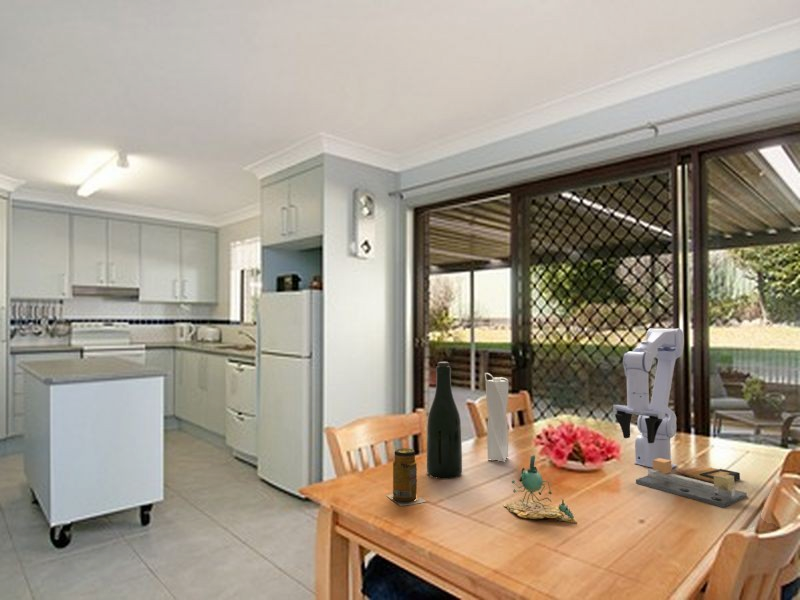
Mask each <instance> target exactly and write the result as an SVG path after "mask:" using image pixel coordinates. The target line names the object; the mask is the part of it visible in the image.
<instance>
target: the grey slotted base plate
mask: <svg viewBox="0 0 800 600" xmlns="http://www.w3.org/2000/svg"><path fill="white" fill-rule="evenodd" d="M652 471H653V468H649V469H647V475H645V476H642V477H639V478H637V479H635V484H638V485H641V486H645V487H648V488H650V489H651V488H652V489H655V490H659V491H662V492H665V493H666V492H667V493H670V494H674V495H676V496H677V495H678V496H681V497H684V498H687V499H692V500H695V501H698V502H702V503H706V504H708V505H713V506H716V507H720V508H727V507H729V506H730V505H732V504H735V503H737V502H739V501H741V500H742V499H743V500H744V499H745V498H747V497H748V492H745V491H741V490H738V489H735V481H734V476H732V475H727V474H723V473H719V474H716V475H714V484H712V483H708V482H704V481H700V480H699V479H695V478H692V477H689V476H687V477H686V476H684V475H679V474H675V473H672V472H669V473H666V474H663V473H657V474H656V479H653V478H652V473H651V472H652Z"/></svg>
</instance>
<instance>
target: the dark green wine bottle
mask: <svg viewBox="0 0 800 600" xmlns="http://www.w3.org/2000/svg"><path fill="white" fill-rule="evenodd" d="M435 372H436V383H435V392H434V397H433V401H432V403H431V406H430V407H429V408H430V409H429V411H428V415H427V423H426V473H427V475H429V476H430V475H431V477H432V476H433V478H436V477H437V479H443V478H448V479H454V478H458V477H460V476H461V475H462V473H463V448H462V447H463V444H462V441H463V439H462V424H461V422H462V421H461V416H460V412H459V409H458V407H457V404H456V402H455V398H454V395H453V390H452V380H451V378H452V374H451V373H452V368H451V366H450V362H448V361H439V362H437V366H436V368H435Z"/></svg>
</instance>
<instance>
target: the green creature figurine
mask: <svg viewBox="0 0 800 600" xmlns="http://www.w3.org/2000/svg"><path fill="white" fill-rule="evenodd" d="M535 460H536V455H534V454H533V455H531V456H530V461H529V468H527V469H526V470H525V467H523V468H522V469H521V471H520V477H519V478H518V482H520V483H521V486H518V485H517V484H516V482H515V480H514V479H513V480H512V481H511V484H514V485H515V486H516V487H517V488H518V489H521V488H522V487H523V490H516V489H515V488H513V490H512V492H513V493H516V492H519V493H520V492H525V491H526V492H525V493H524V496H523V499H522V500H521V499H519V501H520V502H513V503H512V502H508V503H506V502H505V503H506V504H503V507H504V508H506V509H507V510H508V512H510V513H514V514H516V515H517V517H520V518H524V519H533V520H536V519H544V518H548V519H555V520H557V521H559V522H562V521H564V522H566V523H571V524H573V523H574V524H575V523H576V524H577V523H578V521H577V520H576V519H575V518H574V514H573V512H572V511H571V509H570V508H568V505H566V504H565V503H564V502H565V501H564V498H563V499H562V500H561V503H559V505H558V506H555V505H552V504H550V503H552V500H551V498H549V497H544V498H541V499H539V498H538V496H536V495H535V494H534V493H535V492H538V495H539V496H541V495H542V492H543V491H544V489H545V487H546V485H545V484H544V483H548V488H549V491H548V494H549V495H552V493H553V492H552V491H551V486H550V482H549V481H547V480H543V476H542V474H541V473H540V472H538V468H537V467H536V466H535V462H536V461H535ZM543 482H544V483H543ZM542 486H543V488H542ZM540 490H541V491H540ZM527 493H529V494H528V496H527ZM530 496H531V500H529V499H530V498H529V497H530ZM526 497H527V500H526V501H525V499H526ZM534 498H535V499H536V500H537V501H534ZM543 500H548V501H549V502H550V503H544V502H541V501H543Z"/></svg>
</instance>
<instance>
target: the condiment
mask: <svg viewBox="0 0 800 600" xmlns="http://www.w3.org/2000/svg"><path fill="white" fill-rule="evenodd" d="M417 470H418V469H417V461H416V452H415V450H414V449H412V448H405V447H403V448H397V449H396V450H395V451H394V461H393V462H392V493H391V494H390V493H389V494H386V497H387V498H389V499H390V500H392V502H394V503H395V504H397V505H399V506H400V507H402V506H403V507H405V506H410V505H411V506H412V505H417V504H421V503H422V504H423V503H427V501H426V500H425V499H424V498H422V497H421V496H419V499H418V500H416V501H414V500H415V499H416V495H417V489H418V487H417V485H418V483H417V482H418V479H417V478H418V477H417V473H418V471H417ZM392 495H393V497H391V496H392ZM391 498H393V499H391Z"/></svg>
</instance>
